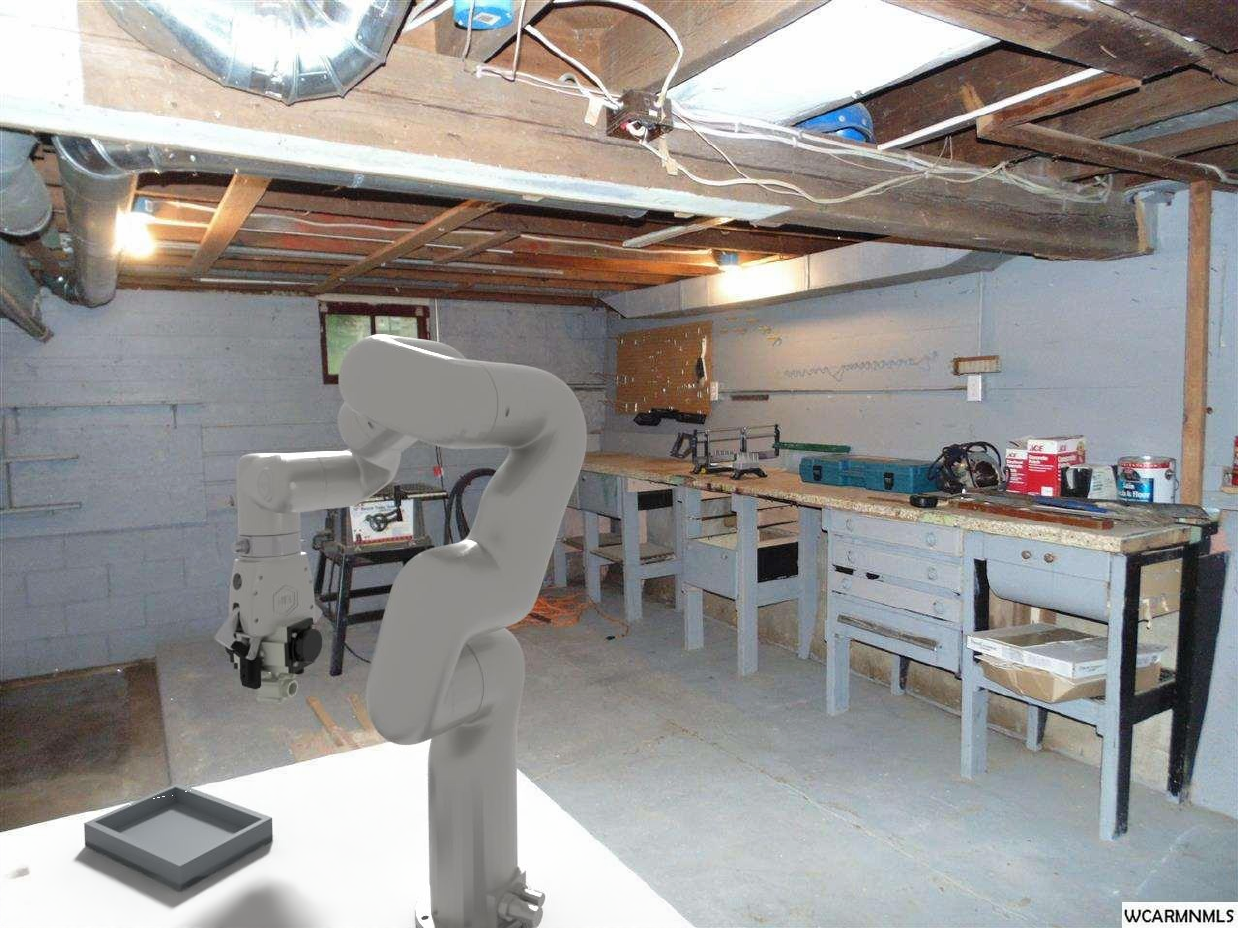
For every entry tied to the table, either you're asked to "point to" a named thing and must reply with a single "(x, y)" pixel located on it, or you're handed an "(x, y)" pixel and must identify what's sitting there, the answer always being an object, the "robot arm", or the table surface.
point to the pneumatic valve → (284, 658)
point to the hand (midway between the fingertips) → (273, 678)
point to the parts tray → (178, 835)
